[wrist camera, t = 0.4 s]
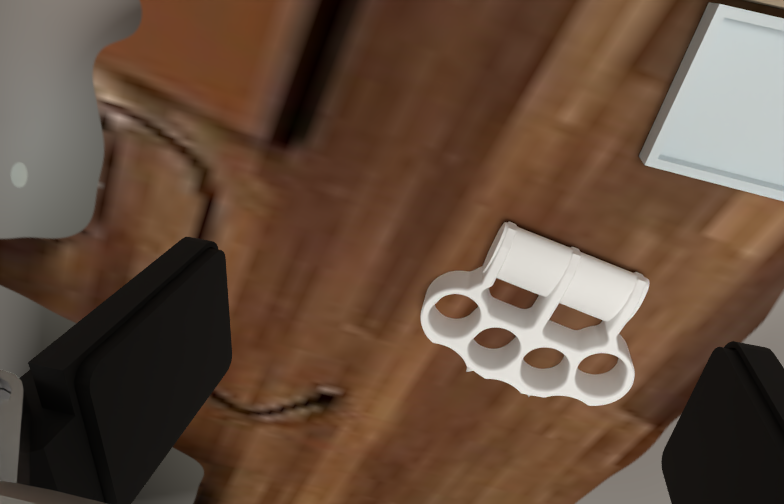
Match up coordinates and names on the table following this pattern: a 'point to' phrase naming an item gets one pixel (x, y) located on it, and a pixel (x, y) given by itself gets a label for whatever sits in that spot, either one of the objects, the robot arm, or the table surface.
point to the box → (726, 105)
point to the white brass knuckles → (541, 316)
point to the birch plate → (770, 3)
